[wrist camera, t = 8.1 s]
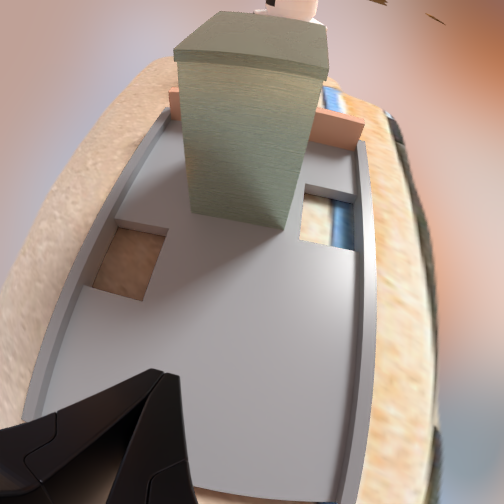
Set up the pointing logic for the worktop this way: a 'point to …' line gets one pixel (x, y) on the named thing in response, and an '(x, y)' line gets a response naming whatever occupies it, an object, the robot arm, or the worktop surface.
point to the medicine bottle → (291, 9)
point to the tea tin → (248, 112)
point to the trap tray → (234, 322)
